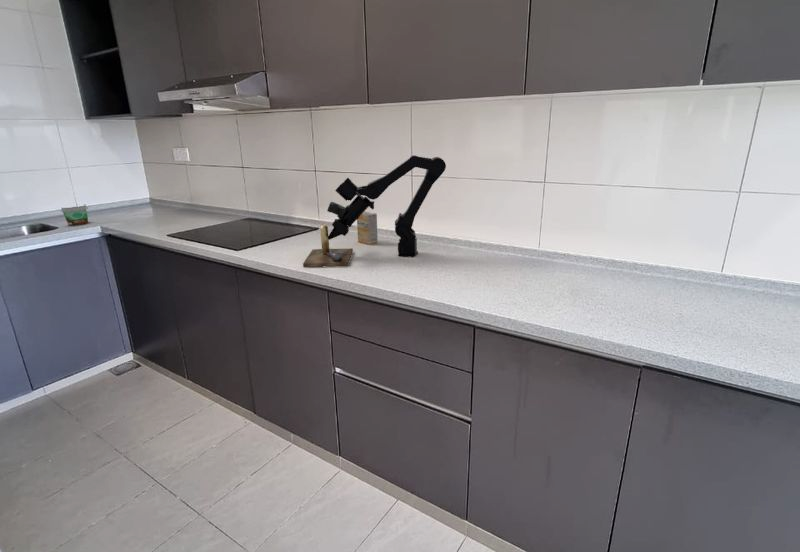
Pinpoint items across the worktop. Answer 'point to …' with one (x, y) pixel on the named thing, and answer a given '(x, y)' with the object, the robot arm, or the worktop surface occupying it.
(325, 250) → the tuning lever
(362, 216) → the supplement box
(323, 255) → the dial board
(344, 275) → the worktop surface
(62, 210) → the food container
